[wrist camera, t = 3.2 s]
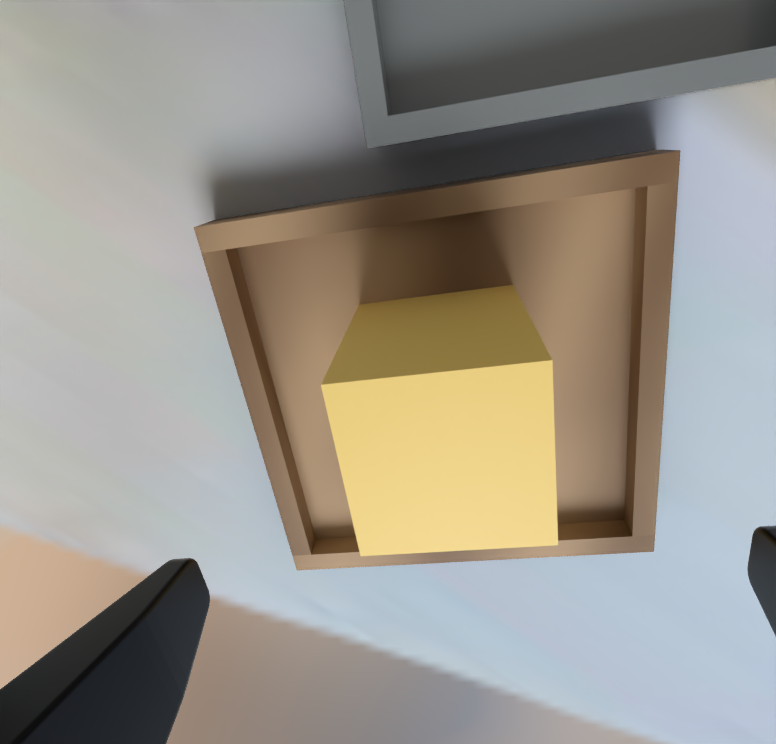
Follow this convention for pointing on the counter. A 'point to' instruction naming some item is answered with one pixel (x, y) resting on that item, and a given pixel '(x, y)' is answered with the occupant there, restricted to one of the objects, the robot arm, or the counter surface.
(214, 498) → the counter surface
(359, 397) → the block
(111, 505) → the counter surface
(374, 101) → the dish
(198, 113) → the counter surface
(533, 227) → the tray
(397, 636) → the counter surface
